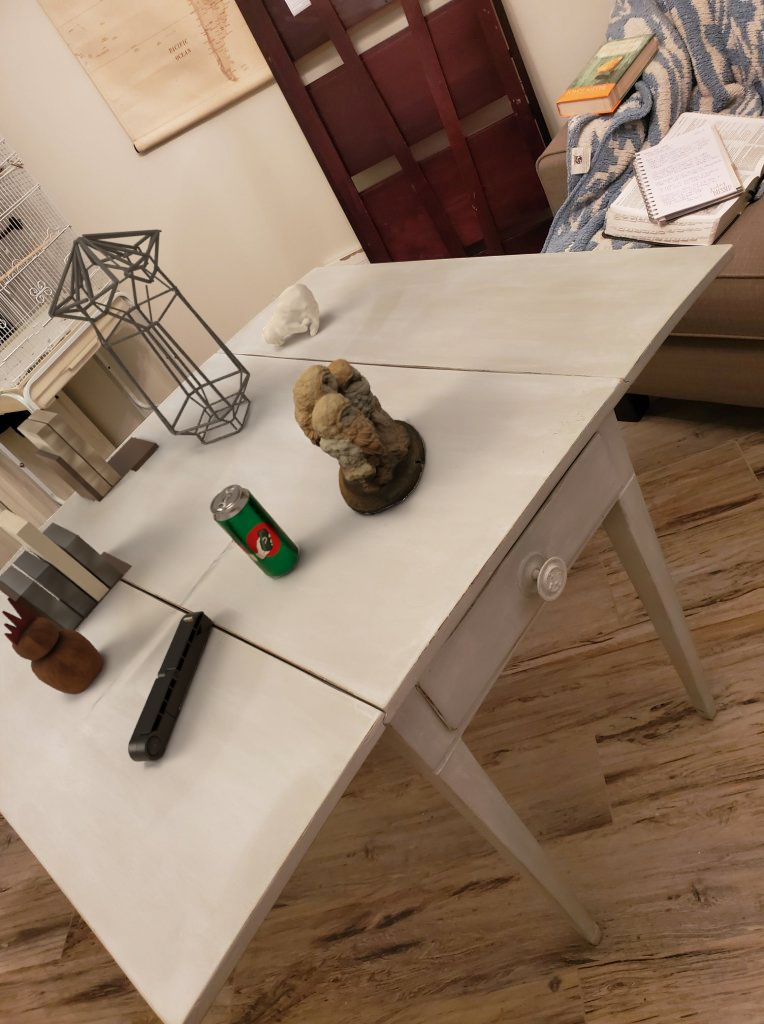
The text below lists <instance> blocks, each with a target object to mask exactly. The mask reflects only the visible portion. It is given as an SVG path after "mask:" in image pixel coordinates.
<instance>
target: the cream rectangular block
mask: <svg viewBox="0 0 764 1024" xmlns="http://www.w3.org/2000/svg"><path fill="white" fill-rule="evenodd" d="M0 528H1V529H2V530H3V531H4V532H6V533H7V534H9V535H10V536H11V537H12V538H13V539H14V540H16V541H17V542H18V543H20V544H21V545H22V546H23V547H24V548H26V549H27V551H29V552H30V553H31V554H33V555H34V556H36V557H37V558H39V559H41V560H42V561H44V562H45V563H47V564H49V565H50V566H51V567H53V568H54V569H55V570H56V571H58V572H59V573H60V574H61V575H62V576H64V577H65V578H66V579H67V580H69V581H70V582H71V583H72V584H74V585H75V586H76V587H77V588H78V589H80V590H81V591H82V592H84V593H85V594H87V595H89V596H90V597H92V598H93V599H95V600H97V601H98V602H99V601H100V600H101V599H102V597H103V596H104V595H105V594H106V593H107V592H108V591H109V589H108V588H107V587H106V586H105V585H104V584H103V583H101V582H100V581H99V580H98V579H97V578H95V577H94V576H93V575H92V574H91V573H89V572H88V571H87V570H86V569H85V568H84V567H82V566H81V565H80V564H79V563H78V562H76V561H75V560H74V559H73V558H72V557H70V556H69V555H68V554H67V553H66V552H64V551H63V550H62V549H61V548H60V547H59V546H57V545H56V544H55V543H54V542H53V541H51V540H50V539H49V538H48V537H47V536H45V535H44V534H43V531H41V530H40V529H39V528H37V526H35V525H34V524H33V523H31V522H30V521H29V520H27V519H25V518H23V517H22V516H19V515H17V514H16V513H13V512H12V511H10V510H8V509H4V510H3V511H2V512H1V513H0Z"/></svg>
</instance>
